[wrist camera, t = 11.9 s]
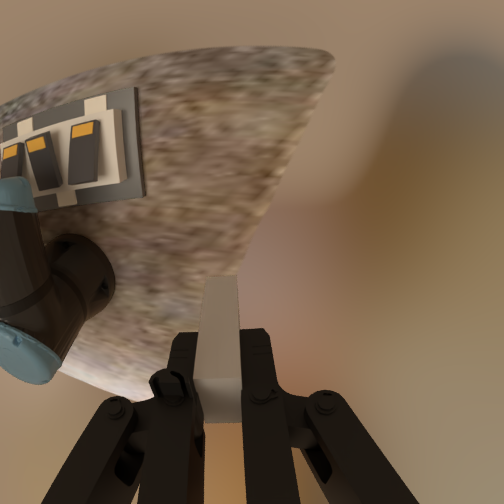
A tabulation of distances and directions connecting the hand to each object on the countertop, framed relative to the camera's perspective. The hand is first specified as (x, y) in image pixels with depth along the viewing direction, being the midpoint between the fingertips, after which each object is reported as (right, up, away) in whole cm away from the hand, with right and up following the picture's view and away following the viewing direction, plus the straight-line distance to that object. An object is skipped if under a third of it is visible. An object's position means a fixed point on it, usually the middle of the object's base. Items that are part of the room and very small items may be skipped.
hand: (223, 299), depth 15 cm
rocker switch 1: (-34, +14, +15) cm, 40 cm away
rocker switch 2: (-27, +15, +16) cm, 34 cm away
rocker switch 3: (-20, +15, +16) cm, 30 cm away
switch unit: (-27, +17, +22) cm, 39 cm away
